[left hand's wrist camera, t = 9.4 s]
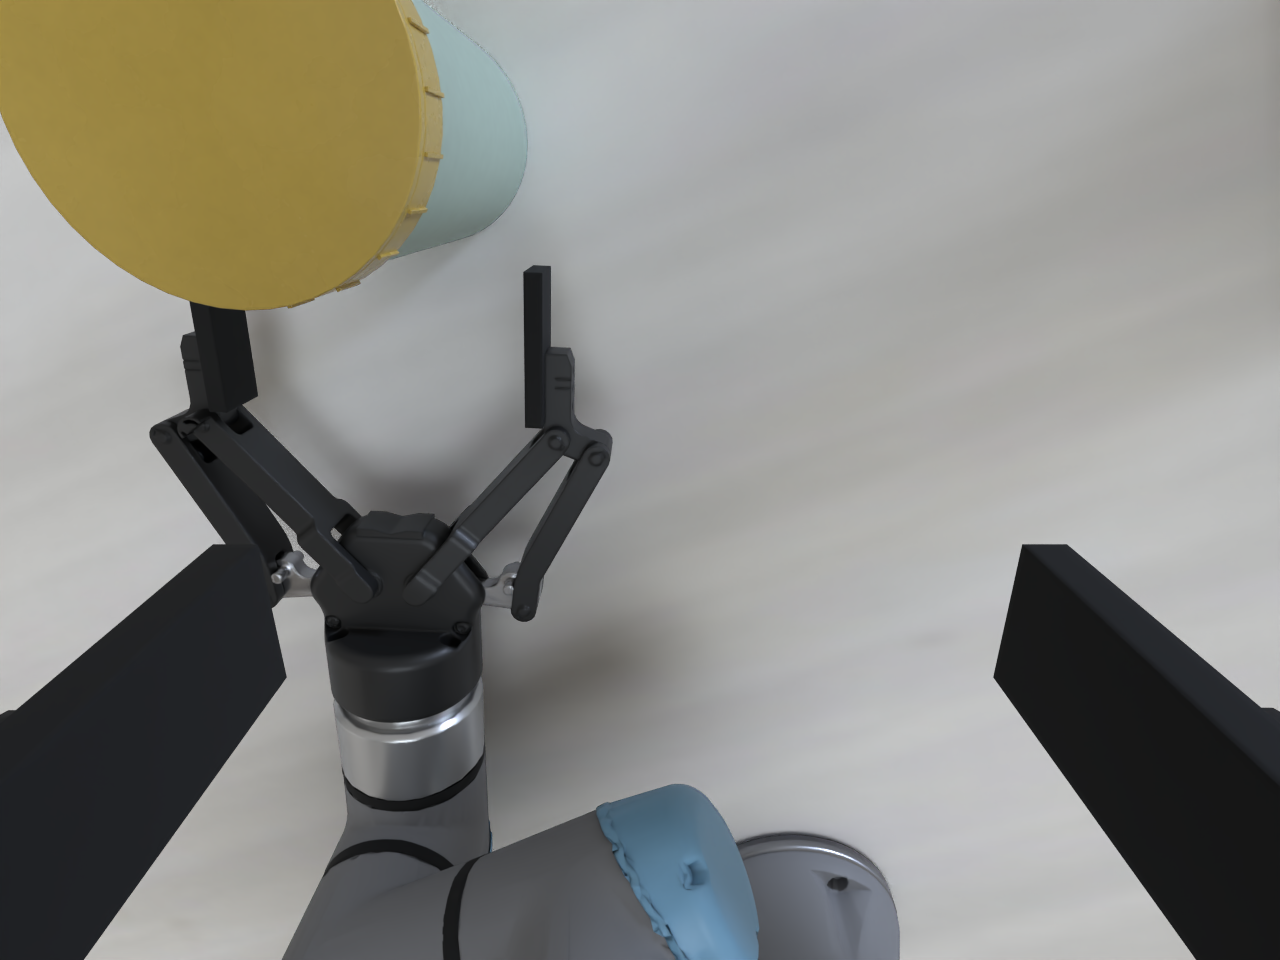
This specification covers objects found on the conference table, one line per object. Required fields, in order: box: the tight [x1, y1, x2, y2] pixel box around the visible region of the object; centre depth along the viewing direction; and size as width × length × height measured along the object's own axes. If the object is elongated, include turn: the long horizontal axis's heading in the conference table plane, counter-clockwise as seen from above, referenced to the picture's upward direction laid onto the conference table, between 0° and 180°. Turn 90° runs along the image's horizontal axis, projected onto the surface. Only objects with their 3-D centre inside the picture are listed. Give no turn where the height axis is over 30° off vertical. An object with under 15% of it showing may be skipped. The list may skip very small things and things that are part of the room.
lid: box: [0, 0, 444, 310], centre depth 18 cm, size 10×10×2 cm
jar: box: [388, 0, 527, 260], centre depth 26 cm, size 9×9×18 cm
